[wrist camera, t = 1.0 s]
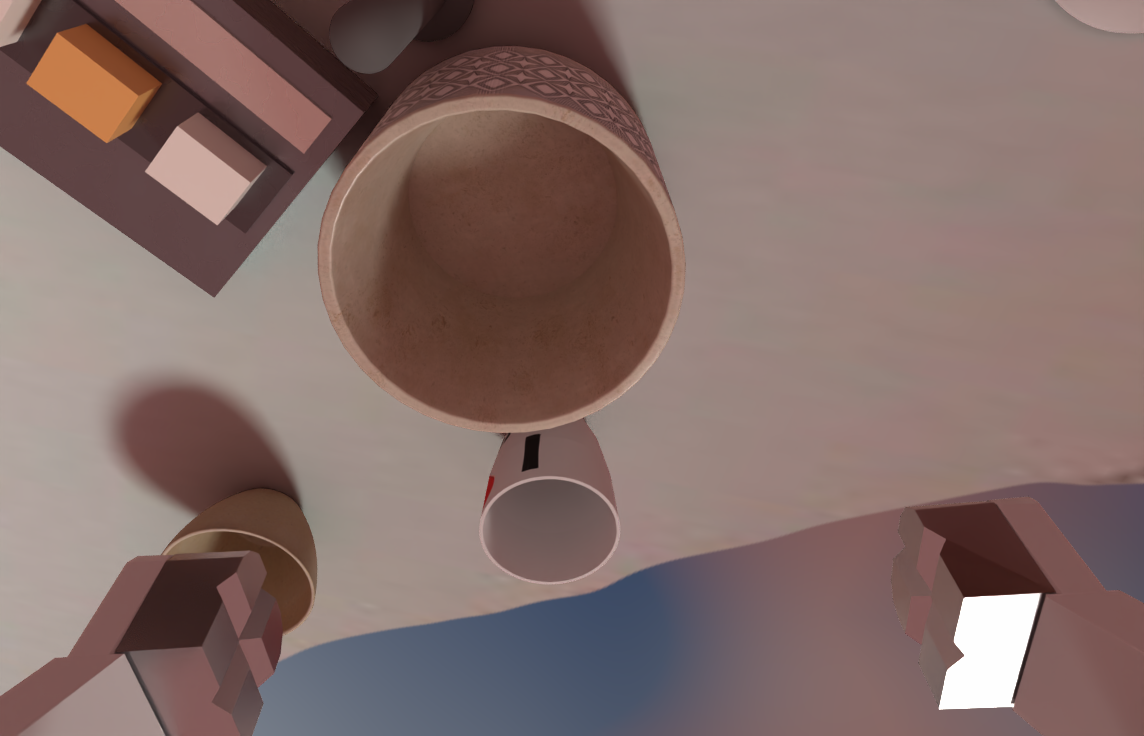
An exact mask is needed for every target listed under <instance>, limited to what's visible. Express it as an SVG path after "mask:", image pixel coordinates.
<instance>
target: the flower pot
mask: <svg viewBox="0 0 1144 736" xmlns="http://www.w3.org/2000/svg"><path fill="white" fill-rule="evenodd" d="M231 551H253V552H256V553H258V554H260V557H261V559H262V562H263V564H264V567H265V569H266V572H267V575H266V577H265V580H264V582H263V585H262V587H261V588H262V589H263V590H265V591H266V592H268V593H269V594H270V595H272V596H273V597H274V598H276V600H277V603H278V606H279V609H280V612H281V619H282V627H283V635H286V634H288V633H290V632H292V631H293V630H295V629H296V628H297V627H299V626H300V625H301V624H302V623H303V622H304V621H305V620H306V619H307V617H308V616H309V614H310V612H311V610H312V608H313V605H314V600H315V594H316V585H317V557H316V549H315V544H314V540H313V536H312V533H311V530H310V527H309V524H308V522H307V520H306V518H305V516H304V514H303V512H302V511H301V509H300V508H299V506H298V505H297V504H296V502H295V501H294V500H292V499H291V498H290V497H288V496H287V495H285V494H283V493H281V492H278V491H275V490H271V489H262V488H258V489H252V490H247V491H244V492H241V493H238V494H235V495H233V496H230V497H228V498H226V499H224V500H222V501H220V502H218V503H216V504H215V505H213V506H211V507H210V508H208V509H207V510H205V511H204V512H202V513H201V514H199V515H198V516H197V517H196V518H194V519H193V520H192V521H191V522H190V523H189V524H187V525H186V526H185V527H184V528H183V529H182V530H181V531H180V532H179V533H178V534H177V535H176V536H175V537H174V539H173V540H172V541H171V542H170V543H169V544H168V546H167V547H166V548H165V550H164V551H163V553H162V554H161V555H175V554H184V553H207V552H231ZM283 635H282V636H283Z"/></svg>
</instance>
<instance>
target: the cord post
mask: <svg viewBox="0 0 1144 736" xmlns="http://www.w3.org/2000/svg"><path fill="white" fill-rule="evenodd" d="M473 2H474V0H352V1H350V2H348V3H347V4H345V5H343V6H342V7H341V8H339V9H338V11H337V12H336V13H335V15H334V16H333V18H332V20H331V24H330V29H329V36H330V42H331V45H332V48H333V50H334V52H335V54H336V56H337V57H338V58H339V60H340V61H341V62H342V63H343V64H344V65H346V66H347V67H348V68H350V69H352V70H354V71H356V72H360V73H365V74H371V73H377V72H380V71H382V70H384V69H385V68H387V67H388V66H389V65H390V64H391V63H392V62H393V61H394V60H395V59H396V57H397V56H398V55H399V54H400V53H401V52H402V51H403V50H404V49H405V47H406V46H407V45H408V44H409V43H410V42H411V41H412V40H413V39H415V40H420V41H436V40H440V39H443V38H446V37H448V36H450V35H451V34H453V33H454V32H456V31H457V30H458V29H459V28H460V27H461V26H462V25H463V23H464V22H465V20H466V19H467V17H468V15H469V14H470V12H471V9H472V6H473Z"/></svg>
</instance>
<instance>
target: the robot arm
mask: <svg viewBox="0 0 1144 736" xmlns="http://www.w3.org/2000/svg"><path fill="white" fill-rule="evenodd" d="M1055 1H1056V2H1057V3H1058V4H1059V5H1060V6H1061V7H1062V8H1063V9H1064V10H1065V11H1066V12H1068V13H1069V14H1070V15H1072V16H1073V17H1075V18H1076V19H1078V20H1080V21H1081V22H1083V23H1085V24H1088V25H1090V26H1092V27H1095V28H1098V29H1101V30H1106V31H1110V32H1117V33H1144V0H1055ZM898 533H899V535H900V537H901V539H902V541H903V543H904V545H905V548H904V549H903V550H902V551H901V552H900V553H899V554H898V555H897V556H896V557H895V558H894V559H893V567H892V575H891V583H892V593H893V601H894V605H895V608H896V612H897V616H898V618H899V621H900V623H901V625H902V628H903V630H904V632H905V634H907V635H908V636H909V637H911V638H912V639H914V640H915V641H916V642H918V643H919V644H921V651H920V657H919V662H918V663H919V665H920V667H921V669H922V672H923V674H924V676H925V678H926V680H927V683H928V685H929V687H930V689H931V691H932V693H933V695H934V698H935V700H936V702H937V704H938V706H939V708H940V709H943V708H944V709H945V708H975V707H1004V706H1013V711H1015V712H1016V713H1017V714H1018V715H1019V716H1021V717H1022V718H1023V719H1024V720H1025V721H1026V722H1027V723H1029V724H1030V725H1031V726H1032V727H1033V728H1034V729H1036V730H1037V731H1038V732H1039V733H1040V734H1042V735H1043V736H1144V603H1142V602H1140V601H1138V600H1137V599H1135V598H1133V597H1131V596H1129V595H1127V594H1126V593H1124V592H1122V591H1120V590H1115V591H1106V590H1105V588H1104V587H1103V586H1102V584H1101V583H1100V582H1099V580H1098V579H1097V578H1096V577H1095V575H1094V574H1093V573H1092V571H1091V570H1090V569H1089V568H1088V566H1087V565H1086V564H1085V562H1084V561H1083V560H1082V559H1081V557H1080V556H1079V555H1078V554H1077V552H1076V551H1075V549H1074V548H1073V547H1072V546H1071V544H1070V543H1069V542H1068V540H1067V539H1066V538H1065V536H1064V535H1063V534H1062V533H1061V531H1060V530H1059V529H1058V528H1057V526H1056V525H1055V523H1054V522H1053V521H1052V520H1051V518H1050V517H1049V516H1048V514H1047V513H1046V512H1045V511H1044V509H1043V508H1042V507H1041V505H1040V504H1039V503H1038V502H1037V501H1036V500H1034V499H1032V498H1030V497H1019V498H1008V499H996V500H987V501H986V502H984V501H979V502H966V503H953V504H939V505H925V506H912V507H905V509H904V511H903V512H902V514H901V516H900V522H899V528H898ZM266 575H267V572H266V569H265V567H264V564H263V562H262V559H261V557H260V554H258V553H256V552H253V551H231V552H207V553H184V554H175V555H156V556H137V557H136V558H134V559H132V560H131V561H129V562H127V563H126V565H125V566H124V568H123V569H122V571H121V573H120V574H119V576H118V577H117V579H116V580H115V582H114V584H113V585H112V587H111V588H110V590H109V592H108V593H107V595H106V596H105V598H104V600H103V601H102V603H101V604H100V606H99V608H98V609H97V611H96V612H95V614H94V615H93V617H92V619H91V620H90V622H89V623H88V625H87V627H86V628H85V630H84V631H83V633H82V635H81V636H80V638H79V639H78V641H77V643H76V644H75V646H74V647H73V649H72V650H71V652H70V654H69V655H68V657H63V658H54V659H53V660H52V661H50V662H49V663H47V664H46V665H44V666H43V667H42V668H40V669H39V670H37V671H36V672H34V673H33V674H32V675H30V676H29V677H27V678H26V679H24V680H23V681H22V682H20V683H19V684H17V685H16V686H14V687H13V688H12V689H10V690H9V691H7V692H6V693H4V694H3V695H2V696H0V736H252V734H253V731H254V728H255V726H256V723H257V720H258V717H259V715H260V712H261V709H262V706H263V701H262V698H261V695H260V693H259V690H258V687H259V686H260V685H261V684H263V683H264V682H265V681H266V680H267V679H268V678H269V677H270V676H271V675H273V674H274V672H275V669H276V666H277V663H278V660H279V657H280V654H281V645H282V635H283V627H282V619H281V612H280V609H279V606H278V603H277V600H276V598H274V597H273V596H272V595H270V594H269V593H268V592H266V591H265V590H263V589H262V588H261V587H262V585H263V582H264V580H265V577H266Z"/></svg>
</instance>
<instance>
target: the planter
mask: <svg viewBox="0 0 1144 736" xmlns="http://www.w3.org/2000/svg"><path fill="white" fill-rule="evenodd" d="M685 268H686V262H685V254H684V245H683V237H682V234H681V230H680V227H679V224H678V220H677V217H676V213H675V210H674V207H673V204H672V202H671V199H670V196H669V193H668V190H667V188H666V185H665V182H664V179H663V176H662V173H661V171H660V168H659V165H658V162H657V159H656V157H655V154H654V151H653V148H652V145H651V142H650V140H649V138H648V136H647V134H646V132H645V130H644V128H643V126H642V123H641V121H640V120H639V118H638V117H637V115H636V114H635V112H634V111H633V110H632V108H631V107H630V105H629V104H628V103H627V101H626V100H625V99H624V98H623V97H622V96H621V95H620V94H619V93H618V92H617V91H616V90H615V89H614V88H613V87H612V86H611V85H610V84H609V83H608V82H607V81H606V80H604V79H603V78H601V77H600V76H599V75H597V74H596V73H595V72H593V71H592V70H591V69H589V68H587V67H585V66H583V65H581V64H579V63H577V62H575V61H573V60H572V59H570V58H568V57H565V56H562V55H559V54H555V53H552V52H549V51H546V50H543V49H536V48H529V47H522V46H493V47H488V48H482V49H477V50H472V51H468V52H465V53H462V54H460V55H457V56H454V57H452V58H449V59H446V60H444V61H443V62H441V63H439V64H437V65H436V66H434V67H432V68H431V69H429V70H427V71H425V72H424V73H423V74H422V75H420V76H419V77H418V78H417V79H416V80H415V81H413V82H412V83H411V84H410V85H409V86H407V87H406V88H405V90H404V91H403V92H402V93H401V94H400V96H399V97H398V98H397V99H396V100H395V101H394V103H393V104H392V105H391V106H390V108H389V109H388V110H387V112H386V113H385V115H384V116H383V117H382V119H381V120H380V121H379V123H378V124H377V126H376V127H375V128H374V130H373V131H372V132H371V134H370V135H369V136H368V138H367V139H366V141H365V142H364V143H363V145H362V146H361V147H360V149H359V150H358V151H357V153H356V154H355V156H354V157H353V158H352V160H351V161H350V162H349V164H348V165H347V166H346V168H345V170H344V171H343V173H342V175H341V177H340V178H339V180H338V182H337V184H336V185H335V187H334V189H333V190H332V192H331V195H330V198H329V201H328V203H327V206H326V209H325V212H324V215H323V217H322V222H321V229H320V235H319V241H318V275H319V281H320V286H321V292H322V297H323V301H324V304H325V307H326V309H327V312H328V315H329V318H330V321H331V323H332V325H333V327H334V329H335V331H336V333H337V334H338V336H339V338H340V340H341V342H342V344H343V345H344V347H345V349H346V350H347V351H348V352H349V354H350V355H351V356H352V358H353V359H354V360H355V362H356V363H357V364H358V366H359V367H360V368H361V369H362V370H363V371H364V372H365V373H366V374H367V375H368V376H369V377H370V378H371V379H372V380H373V381H374V382H375V383H376V384H377V385H378V386H379V387H381V388H382V389H383V390H385V391H386V392H387V393H389V394H390V395H392V396H393V397H394V398H396V399H397V400H398V401H400V402H401V403H403V404H405V405H407V406H409V407H410V408H412V409H414V410H416V411H418V412H420V413H422V414H423V415H426V416H428V417H431V418H434V419H436V420H439V421H441V422H444V423H447V424H450V425H454V426H458V427H462V428H467V429H471V430H477V431H486V432H495V433H518V432H531V431H537V430H544V429H550V428H554V427H557V426H561V425H564V424H567V423H571V422H574V421H577V420H579V419H581V418H583V417H586V416H588V415H590V414H592V413H594V412H597V411H599V410H600V409H602V408H603V407H605V406H607V405H608V404H610V403H611V402H613V401H614V400H616V399H618V398H619V397H621V396H622V395H623V394H624V393H625V392H626V391H628V390H629V389H630V388H631V387H632V386H633V385H634V384H636V383H637V382H638V381H639V380H640V379H641V378H642V377H643V375H644V374H645V373H646V372H647V371H648V370H649V368H650V367H651V366H652V365H653V364H654V362H655V361H656V360H657V358H658V356H659V355H660V353H661V352H662V350H663V348H664V347H665V345H666V343H667V342H668V340H669V338H670V335H671V333H672V331H673V328H674V326H675V323H676V321H677V318H678V316H679V311H680V307H681V303H682V298H683V294H684V286H685Z"/></svg>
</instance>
